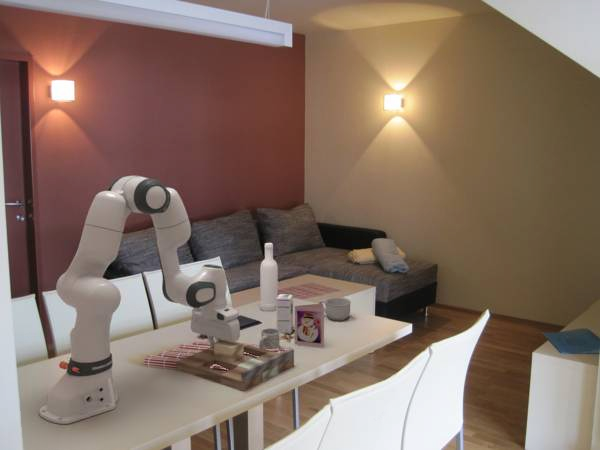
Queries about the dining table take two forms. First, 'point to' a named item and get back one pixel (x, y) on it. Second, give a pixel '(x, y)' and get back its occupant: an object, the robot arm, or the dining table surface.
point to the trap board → (238, 367)
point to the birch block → (229, 350)
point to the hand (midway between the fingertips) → (215, 348)
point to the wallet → (247, 322)
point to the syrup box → (285, 313)
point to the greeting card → (309, 325)
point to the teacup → (337, 308)
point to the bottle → (268, 280)
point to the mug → (269, 339)
